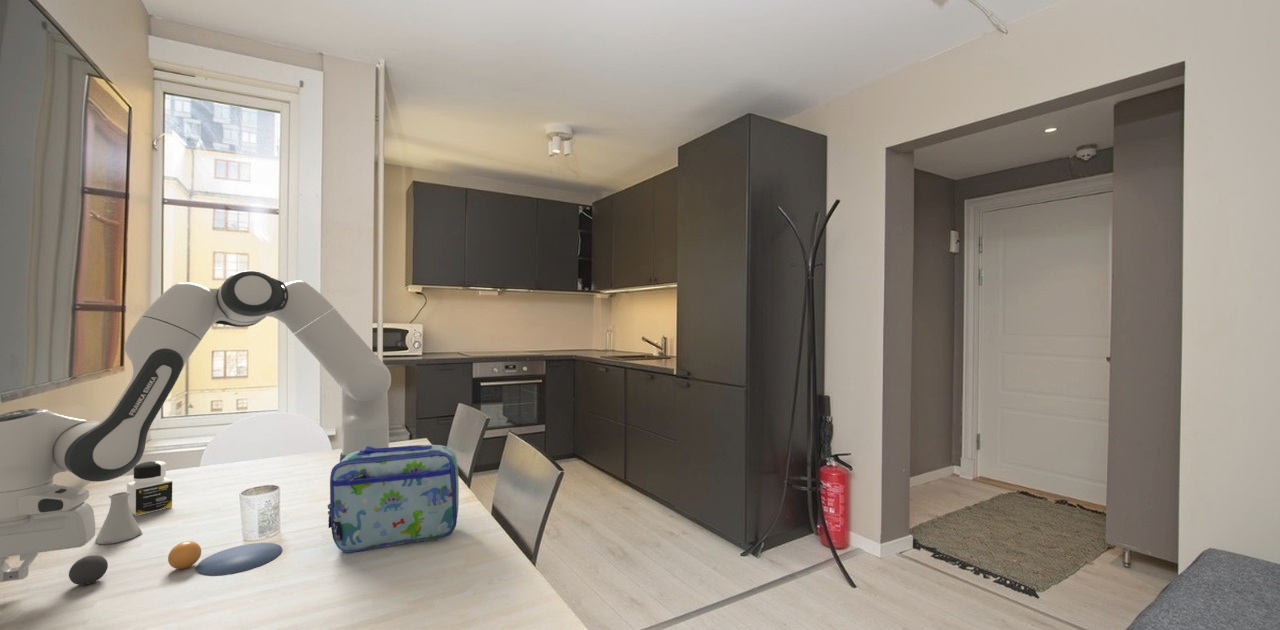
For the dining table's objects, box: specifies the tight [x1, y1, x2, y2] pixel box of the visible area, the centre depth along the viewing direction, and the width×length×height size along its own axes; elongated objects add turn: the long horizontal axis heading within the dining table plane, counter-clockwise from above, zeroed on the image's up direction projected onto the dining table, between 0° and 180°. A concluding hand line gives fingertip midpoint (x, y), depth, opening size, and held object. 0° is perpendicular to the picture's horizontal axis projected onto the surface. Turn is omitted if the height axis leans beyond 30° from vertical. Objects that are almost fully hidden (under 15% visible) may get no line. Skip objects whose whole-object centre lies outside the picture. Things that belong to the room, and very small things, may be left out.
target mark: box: [195, 542, 283, 576], centre depth 107 cm, size 14×14×1 cm
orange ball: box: [167, 540, 202, 570], centre depth 103 cm, size 5×5×5 cm
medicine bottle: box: [126, 460, 173, 517], centre depth 134 cm, size 7×7×12 cm
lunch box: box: [327, 444, 460, 553], centre depth 116 cm, size 26×11×21 cm, turn 107°
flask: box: [94, 491, 143, 545], centre depth 117 cm, size 7×7×10 cm
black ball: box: [68, 554, 109, 586], centre depth 97 cm, size 5×5×5 cm
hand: (13, 579), depth 93 cm, fingers closed
